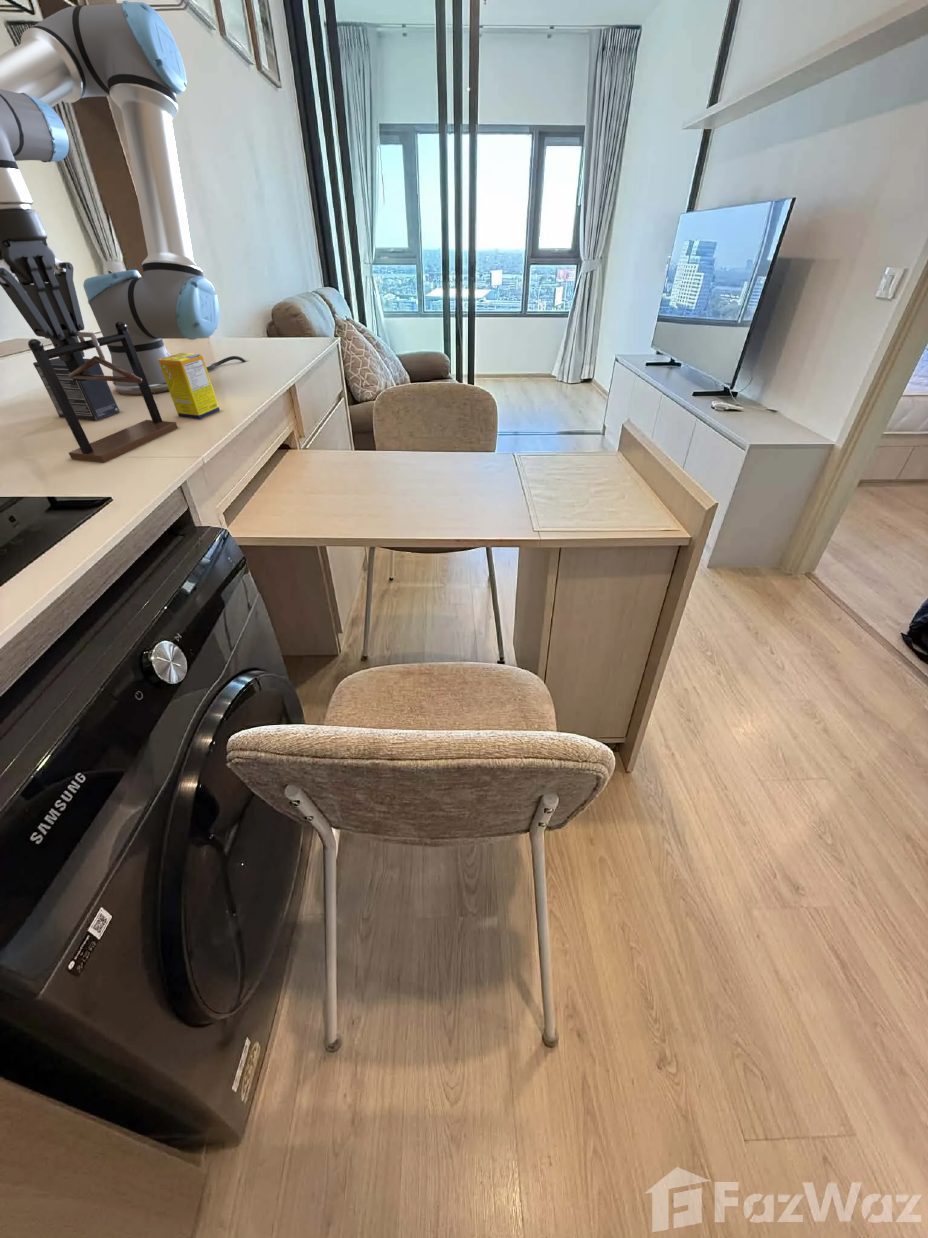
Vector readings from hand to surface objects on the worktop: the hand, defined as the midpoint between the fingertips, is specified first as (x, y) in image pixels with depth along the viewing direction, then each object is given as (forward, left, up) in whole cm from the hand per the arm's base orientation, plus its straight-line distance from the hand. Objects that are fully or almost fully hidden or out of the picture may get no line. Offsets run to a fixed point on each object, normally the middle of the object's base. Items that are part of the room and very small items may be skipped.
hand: (82, 379), depth 90 cm
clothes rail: (0, +7, -10) cm, 12 cm away
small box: (-6, -17, -10) cm, 21 cm away
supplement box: (-17, +4, -10) cm, 20 cm away
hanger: (-1, +7, 0) cm, 7 cm away
